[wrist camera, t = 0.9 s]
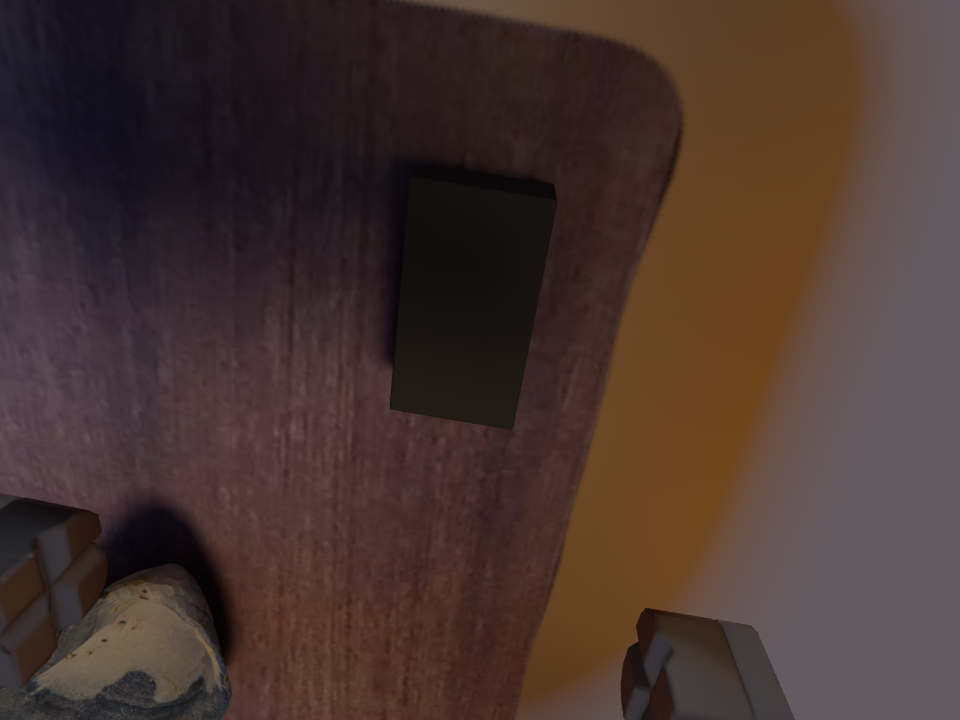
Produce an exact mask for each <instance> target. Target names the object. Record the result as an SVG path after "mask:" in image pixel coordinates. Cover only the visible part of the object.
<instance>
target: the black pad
mask: <svg viewBox="0 0 960 720" xmlns="http://www.w3.org/2000/svg"><path fill="white" fill-rule="evenodd" d="M556 206H557V198H556V192H555V186H554V185H552V184H546V183H540V182H534V181H528V180H521V179H515V178H509V177H503V176H496V175H490V174H484V173H478V172H472V171H465V170H459V169H453V168H447V167H440V166H434V165H426V166H425V167H423V168H422V169H420V170H419V171H418V172H416V173H415V174H413V175H412V176H410V178H409V184H408V196H407V208H406V220H405V232H404V244H403V256H402V268H401V279H400V291H399V303H398V315H397V327H396V339H395V351H394V363H393V375H392V387H391V399H390V409H392V410H398V411H403V412H409V413H415V414H421V415H427V416H433V417H439V418H445V419H450V420H456V421H462V422H468V423H474V424H480V425H486V426H492V427H497V428H503V429H509V430H512V428H513V426H514V421H515V415H516V410H517V405H518V400H519V395H520V390H521V385H522V380H523V375H524V370H525V364H526V359H527V354H528V349H529V344H530V339H531V334H532V329H533V324H534V319H535V314H536V308H537V303H538V298H539V293H540V288H541V283H542V278H543V273H544V268H545V263H546V257H547V252H548V247H549V242H550V237H551V232H552V227H553V222H554V217H555V212H556Z"/></svg>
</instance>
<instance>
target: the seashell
mask: <svg viewBox="0 0 960 720" xmlns="http://www.w3.org/2000/svg"><path fill="white" fill-rule="evenodd" d="M231 696H232V691H231V685H230V681H229V678H228V675H227V673H226V665H225V660H224V657H223V655H222V652H221V649H220V644H219V639H218V636H217V633H216V629H215V626H214V622H213V618H212V615H211V612H210V609H209V607H208V604H207V601H206V599H205V596H204V594H203V593H202V591H201V589H200V587H199V585H198V583H197V582H196V580H195V579H194V578H193V576H192V575H191V574H190V573H189V572H188V571H187V570H186V569H185V568H183V567H182V566H180V565H177V564H174V563H170V564H164V565H160V566H156V567H153V568H149V569H145V570H142V571H139V572H136V573H133V574H131V575H129V576H127V577H124V578H123V579H121V580H119V581H116V582H114V583H113V584H111V585H110V586H109V587H107V588H106V589H105V590H104V591H102V592H101V594H100V596H99V598H98V600H97V602H96V604H95V605H94V606H93V607H92V608H91V610H90V611H89V612H88V613H87V614H86V616H85V617H84V618H83V619H82V620H81V621H79V622H77V623H75V624H73V625H71V626H69V627H67V628H65V629H63V630H62V632H61V634H60V636H59V644H58V648H57V649H56V650H55V651H54V652H53V654H52V655H51V656H50V657H49V658H48V659H47V660H46V661H45V663H44V664H43V665H42V666H41V667H40V668H39V669H38V671H37V672H36V673H35V674H34V675H33V676H32V677H31V678H30V680H29V681H28V682H27V683H26V684H25V685H24V686H23V688H22V689H21V690H16V689H9V688H3V687H0V720H220V719H221V718H222V717H223V715H224V714H225V713H226V711H227V709H228V707H229V705H230V701H231Z"/></svg>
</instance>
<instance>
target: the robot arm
mask: <svg viewBox="0 0 960 720" xmlns="http://www.w3.org/2000/svg"><path fill="white" fill-rule="evenodd" d="M101 533H102V529H101V525H100V520H99V516H98V514H96V513H94V512H91V511H89V510H84V509H80V508H75V507H70V506H65V505H60V504H55V503H50V502H45V501H40V500H35V499H30V498H26V497H25V498H22V497H17V496H12V495H7V494H3V493H0V687H3V688H9V689H16V690H21V689H22V688H23V686H24V685H25V684H26V683H27V682H28V681H29V680H30V678H31V677H32V676H33V675H34V674H35V673H36V672H37V671H38V669H39V668H40V667H41V666H42V665H43V664H44V663H45V661H46V660H47V659H48V658H49V657H50V656H51V655H52V654H53V652H54V651H55V650H56V649H57V648H58V644H59V632H60V631H61V630H63V629H65V628H67V627H69V626H71V625H73V624H75V623H77V622H79V621H81V620H82V619H83V618H84V617H85V616H86V614H87V613H88V612H89V611H90V610H91V608H92V607H93V606H94V605H95V604H96V602H97V600H98V598H99V596H100V594H101V592H102V590H103V587H104V585H105V583H106V577H107V571H108V565H107V558H106V554H105V553H104V552H103V551H102V550H101V549H100V548H99V546H98V545H97V544H96V543H95V542H94V541H95V540H96V538H97V537H98V536H99V535H100V534H101ZM636 629H637V634H638V640H639V641H638V642H637V643H635V644H633V645H632V646H630V647H629V648H628V650H627V653H626V656H625V659H624V663H623V669H622V678H621V702H622V710H623V717H624V719H625V720H795V719H794V716H793V714H792V712H791V709H790V707H789V705H788V702H787V700H786V698H785V695H784V693H783V691H782V688H781V686H780V684H779V681H778V679H777V677H776V674H775V672H774V670H773V668H772V665H771V663H770V660H769V658H768V656H767V654H766V651H765V649H764V646H763V644H762V642H761V640H760V637H759V635H758V632H757V631H756V630H755V629H754V628H753V627H752V626H751V625H746V624H740V623H733V622H728V621H721V620H713V619H710V618H704V617H697V616H692V615H686V614H680V613H673V612H667V611H661V610H655V609H649V608H645V610H644V611H643V612H642V613H641V615H640V618H639V620H638V622H637V625H636Z"/></svg>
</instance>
